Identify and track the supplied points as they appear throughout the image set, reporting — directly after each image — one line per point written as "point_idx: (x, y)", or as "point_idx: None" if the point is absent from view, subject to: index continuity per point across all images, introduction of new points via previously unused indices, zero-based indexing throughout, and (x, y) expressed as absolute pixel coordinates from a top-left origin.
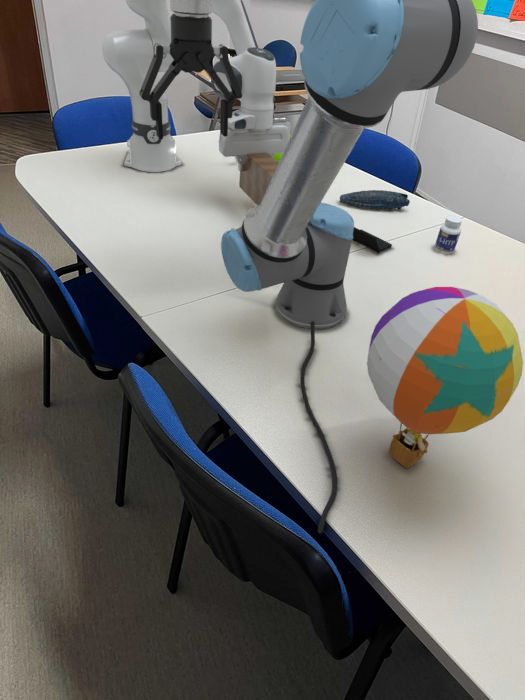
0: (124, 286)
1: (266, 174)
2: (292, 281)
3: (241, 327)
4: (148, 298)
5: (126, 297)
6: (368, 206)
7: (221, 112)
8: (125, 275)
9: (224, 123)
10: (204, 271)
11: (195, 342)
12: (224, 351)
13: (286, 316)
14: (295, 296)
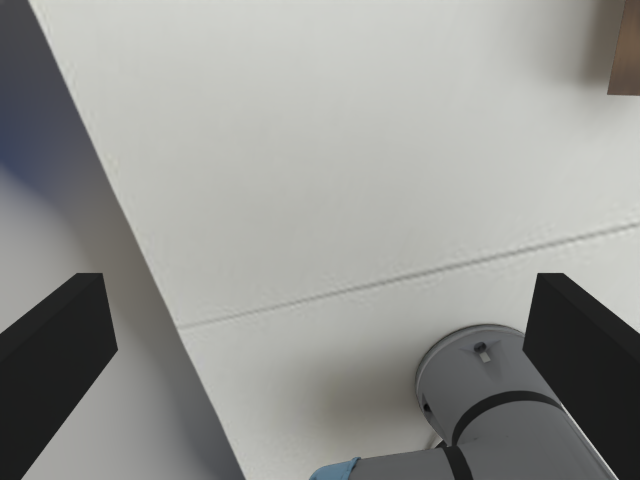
0: (147, 223)
1: None
2: (451, 443)
3: (338, 392)
4: (193, 277)
5: (150, 263)
6: None
7: (628, 388)
8: (150, 179)
9: (568, 408)
10: (332, 205)
11: (254, 406)
12: (292, 433)
13: (420, 406)
14: (443, 438)
